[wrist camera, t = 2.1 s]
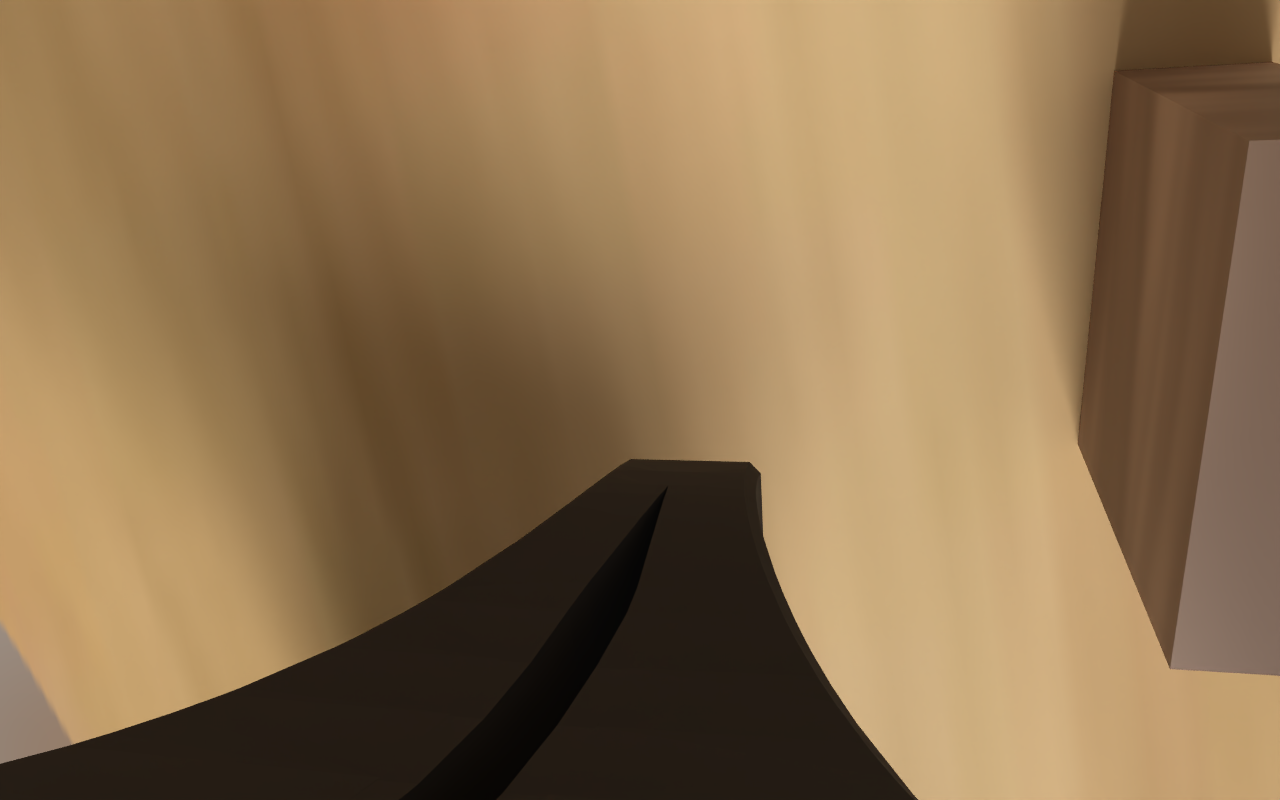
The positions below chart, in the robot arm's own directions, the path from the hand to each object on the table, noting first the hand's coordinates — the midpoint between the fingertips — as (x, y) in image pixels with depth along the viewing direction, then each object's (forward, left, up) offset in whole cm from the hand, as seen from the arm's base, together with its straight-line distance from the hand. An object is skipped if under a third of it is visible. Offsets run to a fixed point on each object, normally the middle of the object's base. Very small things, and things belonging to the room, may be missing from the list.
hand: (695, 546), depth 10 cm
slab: (+7, 0, -11) cm, 13 cm away
